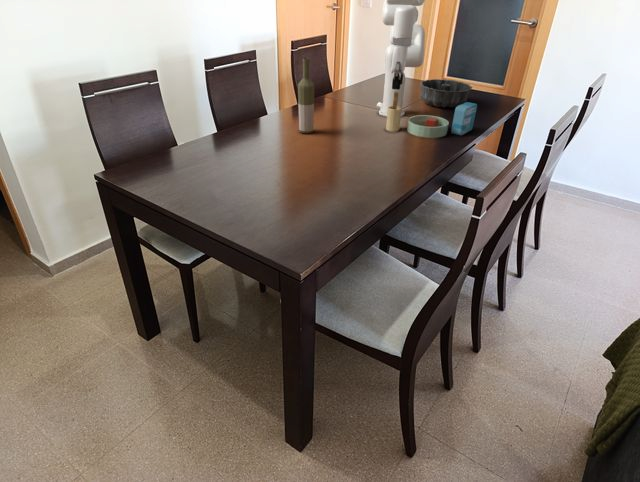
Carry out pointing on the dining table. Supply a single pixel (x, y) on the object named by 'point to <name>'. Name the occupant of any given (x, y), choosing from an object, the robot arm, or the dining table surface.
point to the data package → (464, 118)
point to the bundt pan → (444, 92)
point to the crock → (393, 118)
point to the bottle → (306, 100)
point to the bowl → (418, 127)
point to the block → (431, 122)
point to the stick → (395, 100)
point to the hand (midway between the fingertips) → (397, 86)
